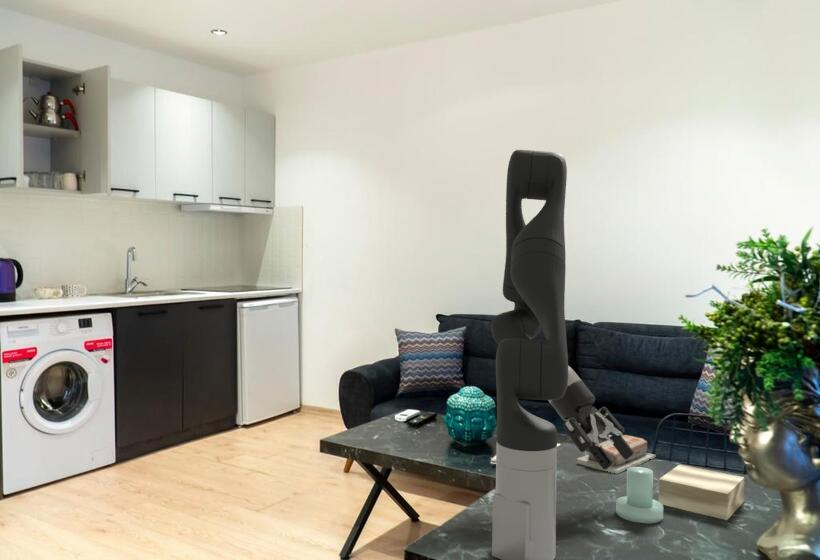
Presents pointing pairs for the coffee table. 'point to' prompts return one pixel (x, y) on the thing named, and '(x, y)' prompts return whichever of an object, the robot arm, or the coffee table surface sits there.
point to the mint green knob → (639, 498)
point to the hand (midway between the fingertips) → (620, 461)
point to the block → (702, 491)
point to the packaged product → (618, 461)
